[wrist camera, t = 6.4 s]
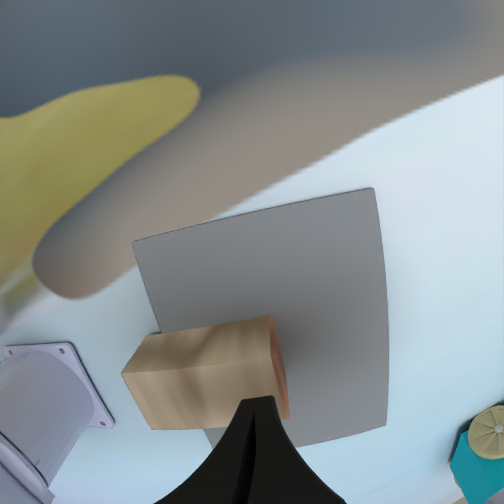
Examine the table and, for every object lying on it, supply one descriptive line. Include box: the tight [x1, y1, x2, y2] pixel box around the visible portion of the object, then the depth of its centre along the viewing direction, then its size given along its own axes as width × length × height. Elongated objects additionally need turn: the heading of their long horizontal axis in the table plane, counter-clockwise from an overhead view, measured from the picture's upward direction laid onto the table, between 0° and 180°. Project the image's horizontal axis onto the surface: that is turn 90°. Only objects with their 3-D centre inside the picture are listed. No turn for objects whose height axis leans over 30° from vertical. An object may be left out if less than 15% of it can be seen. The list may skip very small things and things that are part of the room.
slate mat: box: [132, 188, 389, 449], centre depth 17 cm, size 13×17×1 cm
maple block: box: [121, 315, 290, 430], centre depth 15 cm, size 4×4×8 cm
